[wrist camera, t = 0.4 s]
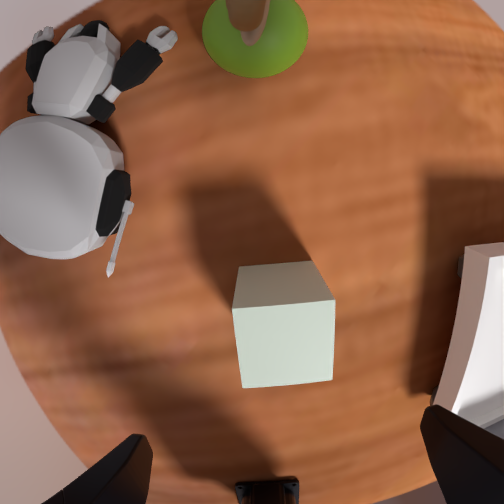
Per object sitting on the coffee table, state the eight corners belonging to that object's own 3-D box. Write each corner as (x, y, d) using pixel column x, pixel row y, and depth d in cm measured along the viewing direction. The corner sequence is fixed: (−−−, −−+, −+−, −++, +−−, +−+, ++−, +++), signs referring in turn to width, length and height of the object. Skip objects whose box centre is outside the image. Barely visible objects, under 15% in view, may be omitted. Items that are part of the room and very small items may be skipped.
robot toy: (54, 39, 16) (4, 223, 18) (23, 18, 11) (-35, 231, 14) (198, 47, 16) (133, 269, 19) (185, 12, 12) (104, 290, 15)
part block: (313, 324, 20) (332, 379, 14) (246, 330, 20) (242, 388, 14) (312, 260, 19) (335, 299, 13) (238, 266, 19) (232, 308, 13)
